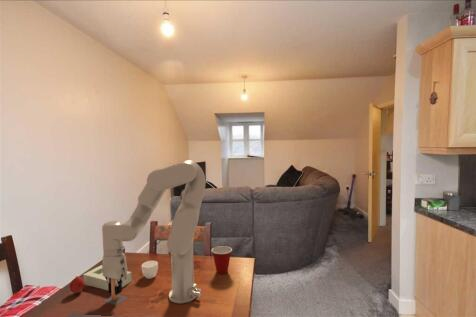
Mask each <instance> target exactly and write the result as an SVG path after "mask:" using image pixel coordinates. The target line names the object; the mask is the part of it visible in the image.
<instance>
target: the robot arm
mask: <svg viewBox="0 0 476 317" xmlns="http://www.w3.org/2000/svg"><path fill="white" fill-rule="evenodd" d="M182 185H185V187H184V191H183V195H182V198H181V202H180V204H179V206H178V208H177V210H176V211H175V214H174V218H173V220H172V224H171V227H170V231H169V234H168V237H167V241H166V246H167V250H168V252H169V253H170V260H171V261H170V262H171V264H170V265H171V267H170V268H171V290H170V291H169V293H168V299H169V301H170V302H172V303H175V304H186V303H191V302H192V301H193V300H194V299H196V298H200V297H201V296H202V289H201V288H198V287H197V284H196V283H195V269H194V237H195V234H196V230H197V226H198V221H199V217H200V211H201V206H202V202H203V198H204V195H205V192H206V190H205V189H206V176H205V173H204V171H203V168H202V167H201V166H200V165H199V164H198V163H197V162H195V161H194V160H192V159H191V160H190V159H186V160H184V161H181V162H179V163H177V164H174V165H170V166H168V167H165V168H164V167H163V168H162V167H159V168H157V169H154V170H152V171H150V173H149V174H148V175H147V179H146V184H145V186H144V187H143V189H142V190H141V192H140V193H139V195H138V196H137V201H138V202H137V205H136V207H135V209H134V210H133V213H132V215H131V216H130V217H129V219H128V220H127V221H125V222H124V223H121V221H118V220H112V221H107V222H105V223H104V224H103V225H102V227H101V228H102V230H101V231H102V232H101V233H102V250H103V251H102V252H103V255H102V264H101V265H102V272H103V274H102V275H103V276H104V277H105V278H106V280H107V284H108V290H107V291H108V294H112V293H111V278H113V279H115V284H116V286H115V295H117V294H119V295H120V293H122V292H123V287H122V283H123V282H124V281H126V280H127V277H126V275H127V271H128V265H127V257H126V253H125V254H124V253H123V252H124V250H123V246H124V245H123V244H124V243H123V242H133V241H134V240H135V239H136V238H137V237H138V235H140V233H141V232H142V231H143V229H144V228H145V226H146V224H147V223H148V221H149V220H150V218H151V216H152V215H153V212H154V211H155V210H156V208H157V206H158V205H159V203H160V201H161V200H162V197H163V196H164V194H165V192H166V191H167V190H169V189H172V188H173V189H174V188H176V187H179V186H182ZM119 279H120V280H119ZM118 280H119V281H118Z"/></svg>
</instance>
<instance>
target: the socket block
mask: <svg viewBox="0 0 476 317" xmlns="http://www.w3.org/2000/svg"><path fill="white" fill-rule="evenodd" d="M102 274H103V272H102V264H101V265H99V266H97V267H95V268H93V269H91V270H89V271H87V272H86V273H84V274H82V275H83V280H84V282H85V286H88V287H95V288H97V289H100V290H105V291H108V284H107V280H106V278H105V277H104V276H103V275H102ZM126 277H127V280H126V281H124V282H123V283H122V288H124V287H125V286H127V285H128V284H129V283H131V282H132V271H128V270H127V275H126ZM119 280H120V279H119Z"/></svg>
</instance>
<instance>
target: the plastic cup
mask: <svg viewBox="0 0 476 317" xmlns="http://www.w3.org/2000/svg"><path fill="white" fill-rule="evenodd" d="M232 251H233V248H232V247H230V246H226V245H223V246H222V245H220V246H214V247H213V248H211V253H212V255H213V260H214V261H213V262H214V267H215V271H216V273H217V274H219V275H225V274H227V273H228V271H229V266H230V259H231V254H232Z"/></svg>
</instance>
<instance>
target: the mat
mask: <svg viewBox="0 0 476 317" xmlns="http://www.w3.org/2000/svg"><path fill="white" fill-rule="evenodd" d="M119 297H120V298H119V300H117V301H112V294H111V295H109V297H107V298H105V299H104V300H103V302H104V303H107V304H111V305H114V306H118V305H120V304H121V303H123V302H124V301H125V300H127V299H128V298H129V297H128V296H126V295H122V294H119Z"/></svg>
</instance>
